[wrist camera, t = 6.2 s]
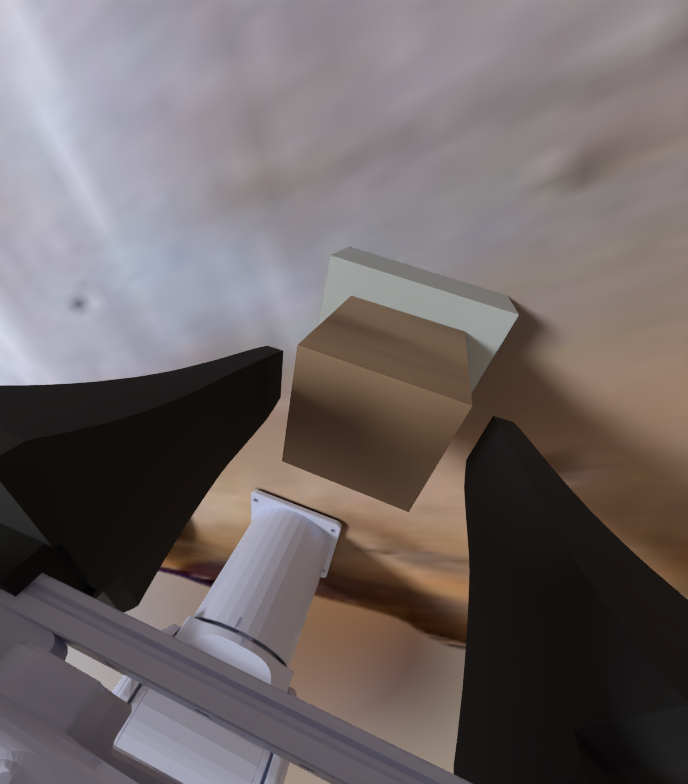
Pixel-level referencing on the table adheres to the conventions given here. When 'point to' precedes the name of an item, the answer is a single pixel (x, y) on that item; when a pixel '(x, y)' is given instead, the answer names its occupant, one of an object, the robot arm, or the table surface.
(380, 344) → the walnut block
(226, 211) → the table surface
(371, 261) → the grey block
